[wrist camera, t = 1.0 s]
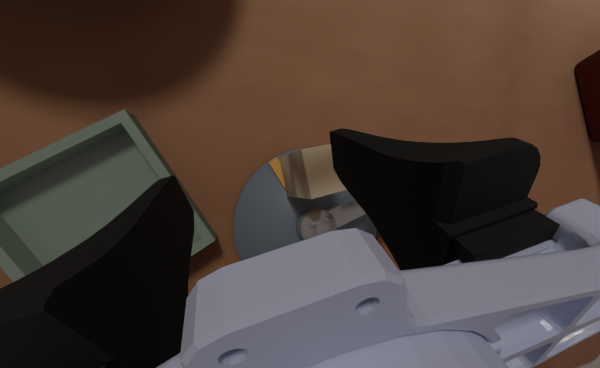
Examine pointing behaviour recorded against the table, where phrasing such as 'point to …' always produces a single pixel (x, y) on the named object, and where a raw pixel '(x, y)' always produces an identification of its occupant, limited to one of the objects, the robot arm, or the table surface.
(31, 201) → the tray
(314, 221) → the crank
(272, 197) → the crank base
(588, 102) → the plant pot
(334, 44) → the table surface
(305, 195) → the wooden block
